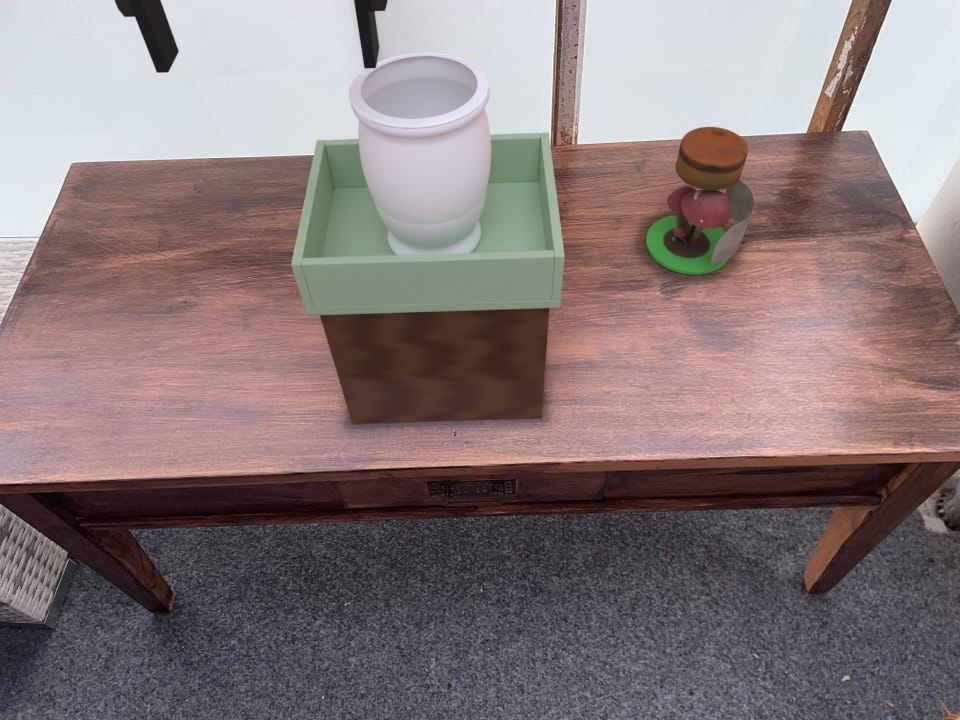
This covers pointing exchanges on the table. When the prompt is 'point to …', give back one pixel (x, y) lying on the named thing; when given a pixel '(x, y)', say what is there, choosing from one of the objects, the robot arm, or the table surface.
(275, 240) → the table surface
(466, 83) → the jar
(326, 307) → the tray
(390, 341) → the stand
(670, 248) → the toy figurine
